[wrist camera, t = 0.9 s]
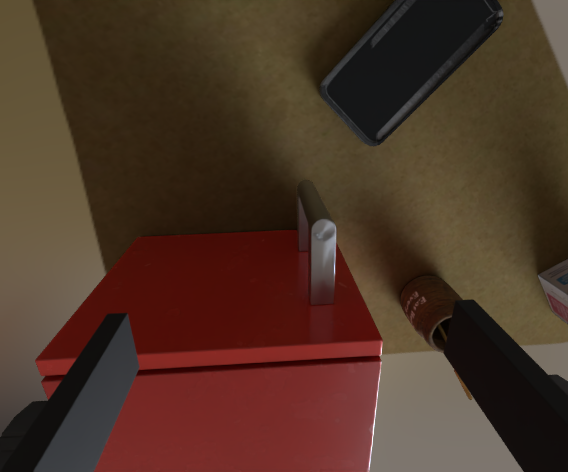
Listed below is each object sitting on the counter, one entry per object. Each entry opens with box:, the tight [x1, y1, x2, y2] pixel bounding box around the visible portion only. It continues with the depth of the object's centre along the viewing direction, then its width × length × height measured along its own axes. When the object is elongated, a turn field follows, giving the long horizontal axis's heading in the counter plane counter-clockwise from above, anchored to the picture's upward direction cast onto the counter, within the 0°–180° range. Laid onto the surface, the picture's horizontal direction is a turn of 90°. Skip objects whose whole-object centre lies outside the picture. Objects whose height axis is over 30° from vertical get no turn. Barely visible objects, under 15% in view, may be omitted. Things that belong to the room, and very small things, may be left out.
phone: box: [320, 0, 503, 146], centre depth 30 cm, size 8×1×15 cm
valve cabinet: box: [41, 355, 381, 472], centre depth 31 cm, size 12×20×18 cm, turn 92°
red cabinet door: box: [35, 180, 383, 376], centre depth 27 cm, size 8×20×18 cm, turn 92°
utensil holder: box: [400, 276, 472, 400], centre depth 35 cm, size 6×6×12 cm
